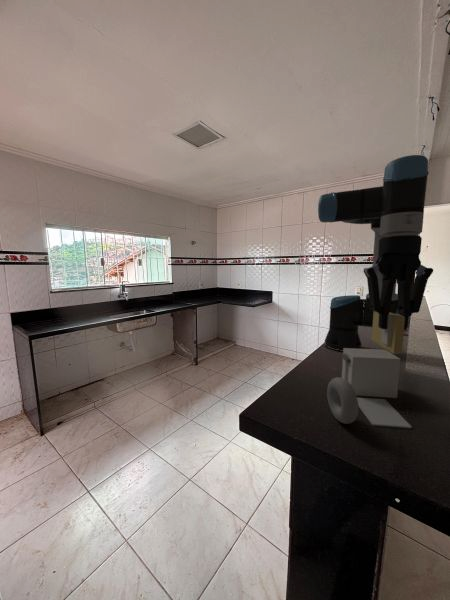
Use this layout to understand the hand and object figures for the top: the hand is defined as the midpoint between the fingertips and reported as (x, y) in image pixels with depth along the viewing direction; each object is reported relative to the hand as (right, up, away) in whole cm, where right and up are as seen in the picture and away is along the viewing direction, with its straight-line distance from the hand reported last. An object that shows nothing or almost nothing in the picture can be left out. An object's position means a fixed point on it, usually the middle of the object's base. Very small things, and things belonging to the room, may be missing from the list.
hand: (391, 343), depth 57 cm
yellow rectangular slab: (0, -1, +3) cm, 3 cm away
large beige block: (+4, -16, +17) cm, 24 cm away
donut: (-11, -18, +2) cm, 21 cm away
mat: (+1, -18, +5) cm, 19 cm away
